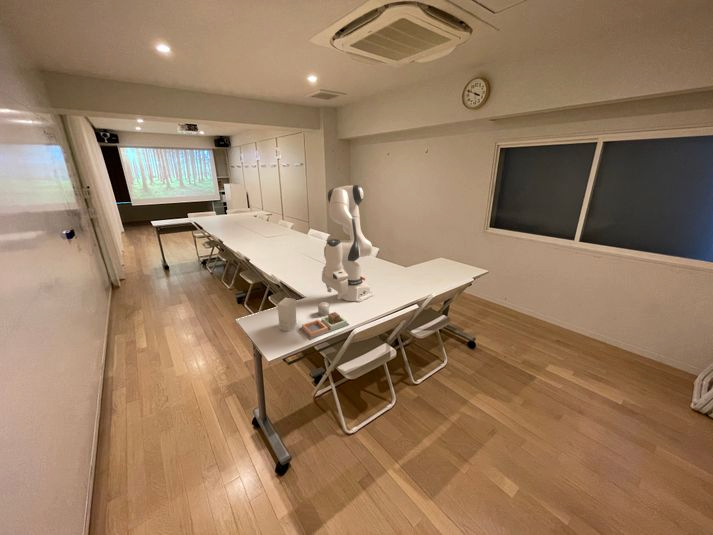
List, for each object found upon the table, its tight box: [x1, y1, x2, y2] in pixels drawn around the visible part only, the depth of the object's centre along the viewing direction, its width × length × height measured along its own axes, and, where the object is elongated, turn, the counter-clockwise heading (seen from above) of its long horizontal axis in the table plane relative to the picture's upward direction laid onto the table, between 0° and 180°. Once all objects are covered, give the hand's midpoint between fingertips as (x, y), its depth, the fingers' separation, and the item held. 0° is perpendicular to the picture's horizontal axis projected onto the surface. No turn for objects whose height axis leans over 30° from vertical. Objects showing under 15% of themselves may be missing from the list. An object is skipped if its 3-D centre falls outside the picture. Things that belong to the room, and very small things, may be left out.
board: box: [299, 315, 350, 340], centre depth 148 cm, size 24×12×3 cm, turn 127°
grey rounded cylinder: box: [317, 301, 330, 317], centre depth 161 cm, size 6×6×6 cm
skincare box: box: [277, 297, 298, 332], centre depth 145 cm, size 8×7×16 cm
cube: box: [327, 311, 341, 325], centre depth 150 cm, size 4×4×5 cm
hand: (334, 295), depth 146 cm, fingers open, 8 cm apart
